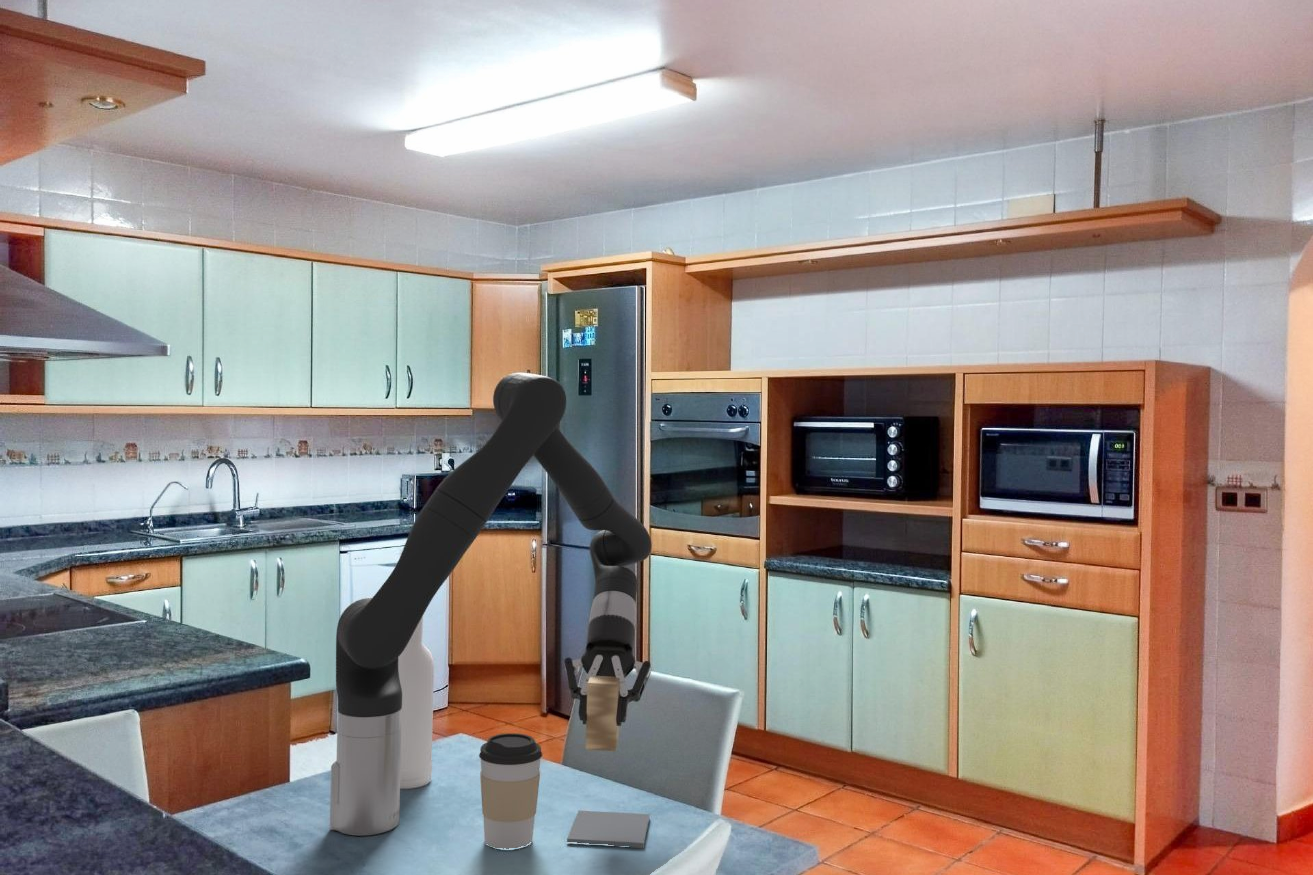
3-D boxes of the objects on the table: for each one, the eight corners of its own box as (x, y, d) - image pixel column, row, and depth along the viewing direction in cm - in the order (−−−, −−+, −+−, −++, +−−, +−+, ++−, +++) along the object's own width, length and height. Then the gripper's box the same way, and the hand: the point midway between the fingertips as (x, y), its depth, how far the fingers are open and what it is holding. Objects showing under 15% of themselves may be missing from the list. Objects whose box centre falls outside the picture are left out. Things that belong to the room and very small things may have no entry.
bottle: (394, 771, 175) (399, 597, 175) (438, 774, 174) (443, 599, 174) (375, 787, 167) (380, 604, 167) (421, 791, 166) (426, 607, 166)
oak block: (585, 749, 152) (587, 682, 152) (589, 740, 156) (590, 675, 156) (615, 750, 152) (617, 683, 152) (618, 741, 156) (620, 676, 156)
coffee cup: (510, 823, 153) (513, 724, 153) (553, 840, 147) (555, 737, 147) (463, 841, 146) (466, 737, 146) (506, 859, 140) (509, 751, 140)
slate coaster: (567, 844, 146) (567, 838, 146) (578, 815, 157) (578, 810, 157) (643, 848, 145) (643, 842, 145) (649, 819, 156) (649, 814, 156)
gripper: (566, 611, 162) (552, 707, 150) (655, 614, 161) (649, 711, 149) (569, 637, 167) (556, 732, 155) (656, 641, 166) (650, 737, 154)
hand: (601, 722), depth 152 cm, fingers closed on oak block, 4 cm apart
